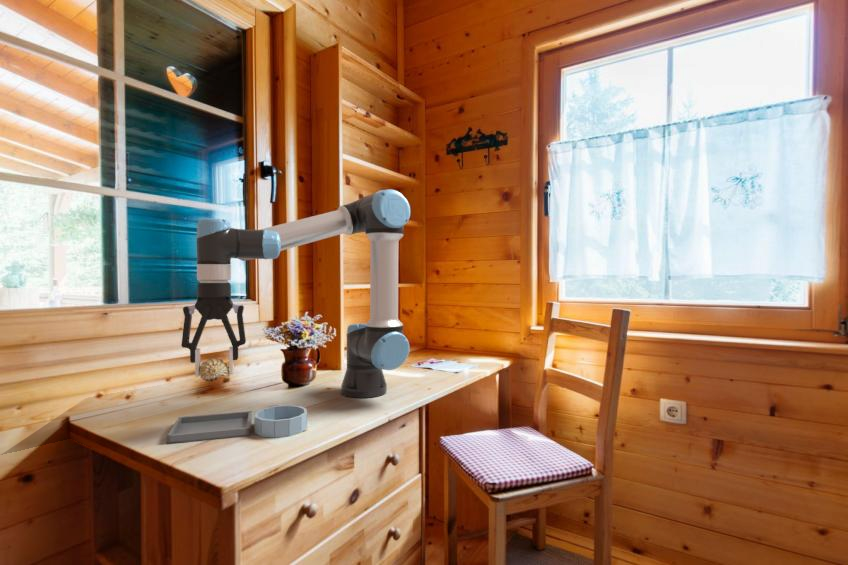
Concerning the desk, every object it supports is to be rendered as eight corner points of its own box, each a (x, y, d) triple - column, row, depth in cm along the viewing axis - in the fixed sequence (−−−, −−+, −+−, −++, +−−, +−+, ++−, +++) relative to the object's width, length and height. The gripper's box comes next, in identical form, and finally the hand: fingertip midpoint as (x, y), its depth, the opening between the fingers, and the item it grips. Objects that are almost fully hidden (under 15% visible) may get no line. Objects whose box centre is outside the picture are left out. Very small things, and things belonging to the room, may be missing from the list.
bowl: (304, 418, 117) (304, 403, 117) (308, 434, 106) (308, 417, 105) (255, 422, 113) (255, 407, 113) (253, 439, 101) (254, 422, 101)
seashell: (192, 391, 107) (206, 379, 101) (187, 367, 109) (202, 355, 103) (223, 385, 113) (239, 374, 107) (219, 363, 114) (234, 350, 108)
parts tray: (251, 417, 117) (251, 410, 117) (249, 435, 104) (249, 428, 104) (178, 424, 111) (178, 417, 111) (166, 444, 98) (166, 436, 98)
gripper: (257, 281, 114) (257, 368, 115) (171, 281, 107) (172, 374, 108) (256, 282, 107) (257, 374, 107) (165, 282, 100) (166, 381, 101)
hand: (214, 374), depth 108 cm, fingers closed on seashell, 7 cm apart
